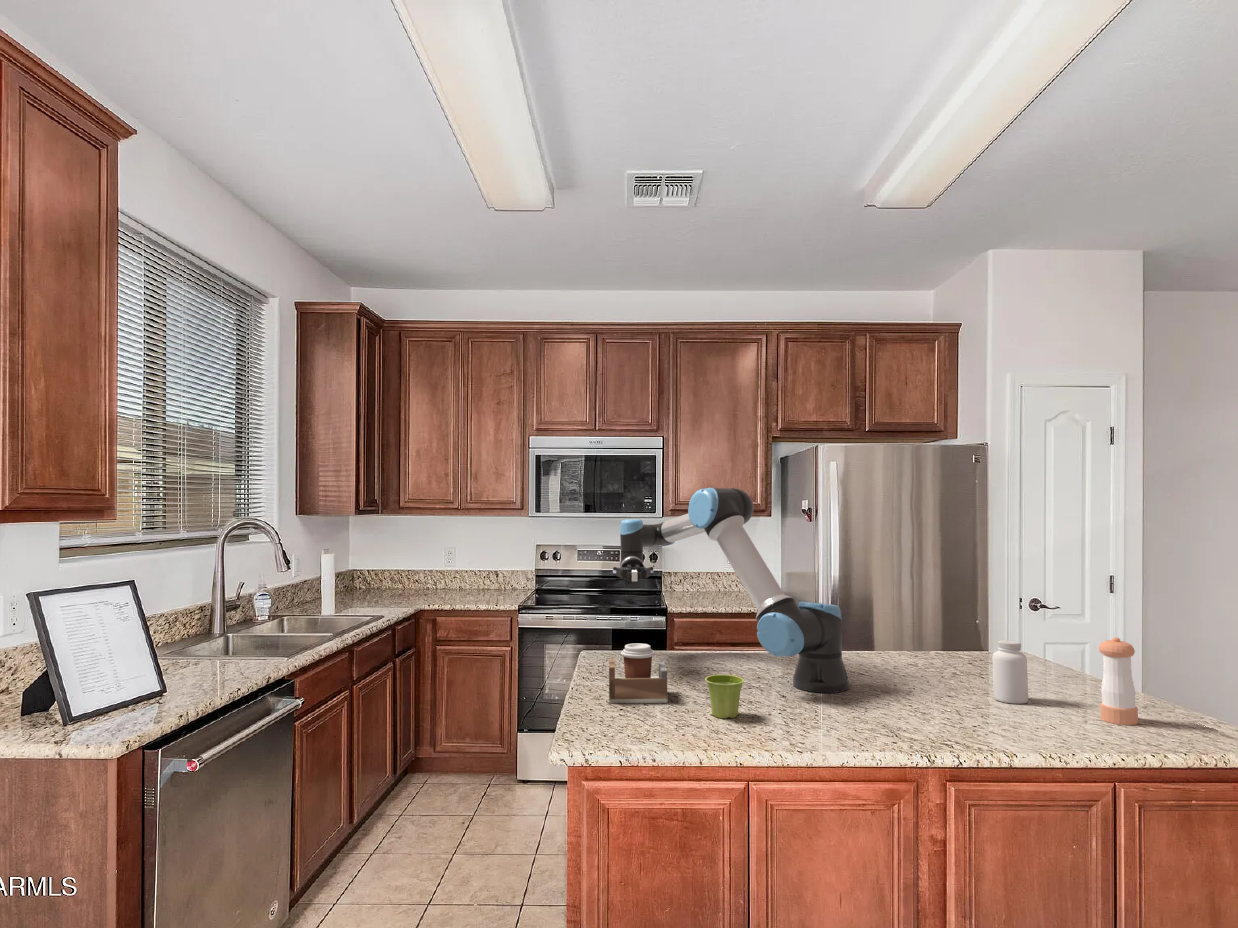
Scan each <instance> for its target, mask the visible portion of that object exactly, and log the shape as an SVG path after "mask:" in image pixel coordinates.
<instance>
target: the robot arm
mask: <svg viewBox="0 0 1238 928" xmlns="http://www.w3.org/2000/svg"><path fill="white" fill-rule="evenodd" d="M754 508H755V507H754V502H753V500H752V498H751V496H750V495H749V494H748V493H747V492H746V491H744V490H742V489H740V488H734V487H731V488H721V487H720V488H718V487H716V488H714V487H708V488H700V489H698V490H697V491H695V493H693V495H692V496H691V498H690V500H689V503H688V509H687V513H686V514H683V515H680V516H677V517H674V518H671V519H668V520H665V521H663V522H660V523H655V524H644V523H643V520H642V519H636V518H635V519H622V521H621V522H620V528H619V529H620V530H619V535H620V537H619V538H620V555H619V558H620V562H619V564H620V565H619V567H616V566H614V567H612V575H613V576H614V577H618V578H621V579H623V580H626V581H627V582H631V583H636V582H638V581H640V580H641V579H647V578H649V577H653V576H654V567H653V566H650V567H646V566H645V565H644V548H645V547H647V548H648V547H661V546H662V547H666V546H671V545H673V544H675V542H677V541H680V540H684V539H687V538H689V537H693V536H697V535H700V534H703V533H706V535H707V536H708V539H709V540H711V541H715V542H717V544H718V546H720V549H721V550H722V553H724V555H725V557H726V558H727V561H728V562H729V564H730V566H731V567H732V570H733V571H734V572H735V574H736V576H737V578H738V579H739V581H740V582H741V584H742V586H743V588H744V590H745V591H746V593H747V594H748V597H749V598H750V600H751V601H752V603H753V605H754V607H755V608H756V610H757V613H756V616H755V619H756V621H757V625H756V630H757V632H756V635H757V639H758V642H759V643H760V645H761V647H762V648H763V649H764V650H765V651H766V652H767V653H769V654H771V655H772V656H775V657H778V658H783V657H787V658H789V657H795V656H797V655H798V660H797V663H796V665H795V666H796V667H795V670H794V674H793V676H792V686H793V687H794V688H797V689H798V690H802V691H806V692H813V693H828V694H829V693H840V692H841V693H842V692H844V691H845V692H846V691H847V690H849V689H850V678H849V677H848V674H847V673H848V672H847V671H846V668H845V664H844V661H843V652H842V651H843V647H842V645H843V644H842V639H843V638H842V620H843V619H842V613H841V612H842V611H841V608H840V607H839V606H838V605H836V604H829V603H823V602H822V603H821V602H811V601H799V602H798V603H797V602H796V601H795V599H794V597H792V596H790V595H786V594H785V593H784V591H783V589H782V588H781V586H780V585H779V583H778V581H777V580H776V578H775V576H774V575H773V573H772V572H771V570H770V568H769V566H768V565H767V563H766V562H765V561H764V559H763V557H762V555H761V553H759V550H758V549H757V547H756V546H755V543H754V542H753V541H752V539H751V537H750V536H749V534H748V533H747V531H746V529H745V527H744V525H745V524H747V523H748V522H749V521H750V520H751V518H752V516H753V515H754V510H755V509H754Z"/></svg>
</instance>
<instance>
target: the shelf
mask: <svg viewBox="0 0 1238 928" xmlns="http://www.w3.org/2000/svg"><path fill="white" fill-rule="evenodd" d="M615 660H616V659H615V657H614V658H608V690H609V691H608V692H609V693H608V702H609V704H648V703H649V704H651V703H652V704H657V703H659V704H660V703H665V704H667V703H668V669H667V666H666V664H665V661H658V675H655V676H652V675H651V678H625V676H616V666H615V665H616V661H615Z"/></svg>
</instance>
